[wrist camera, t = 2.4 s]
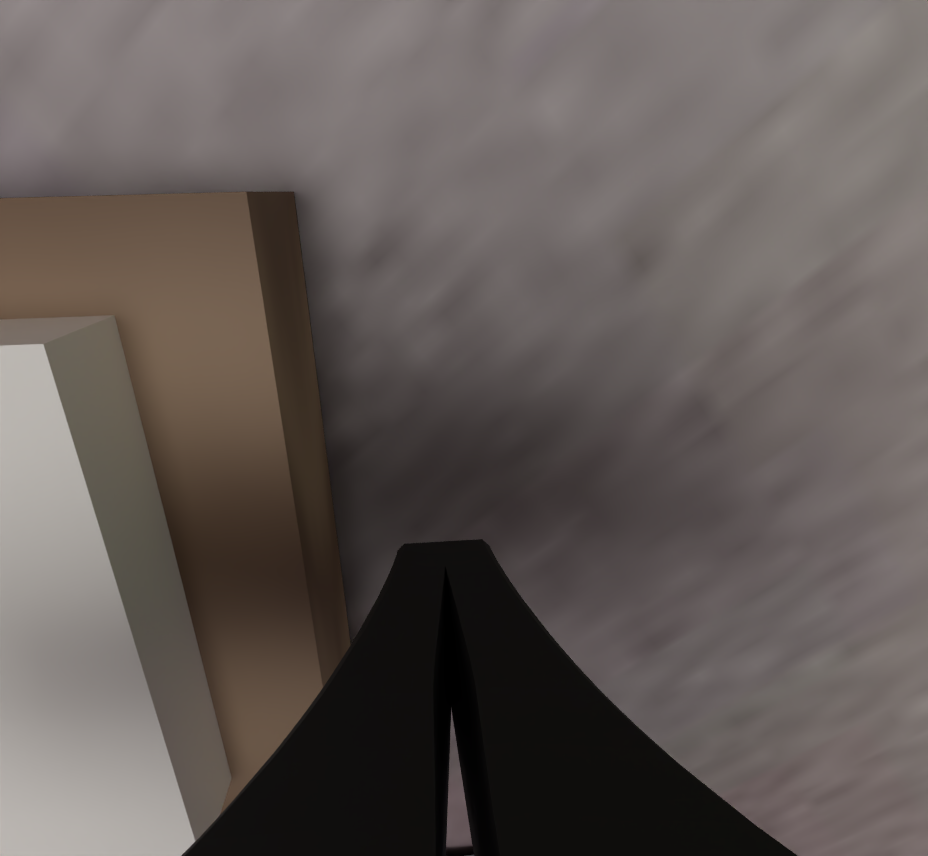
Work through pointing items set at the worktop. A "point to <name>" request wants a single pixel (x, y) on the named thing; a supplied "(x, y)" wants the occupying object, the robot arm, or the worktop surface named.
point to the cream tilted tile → (92, 615)
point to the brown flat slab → (213, 424)
